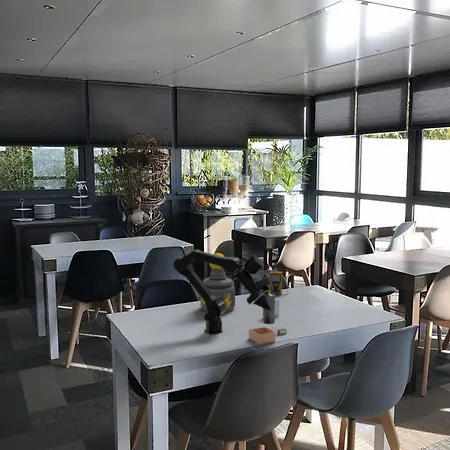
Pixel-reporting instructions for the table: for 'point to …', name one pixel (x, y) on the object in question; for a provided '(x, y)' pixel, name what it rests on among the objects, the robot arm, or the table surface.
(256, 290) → the robot arm
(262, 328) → the cup
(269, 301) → the cell
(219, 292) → the decorative lamp
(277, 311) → the medicine box
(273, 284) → the multimeter
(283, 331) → the checker pad
